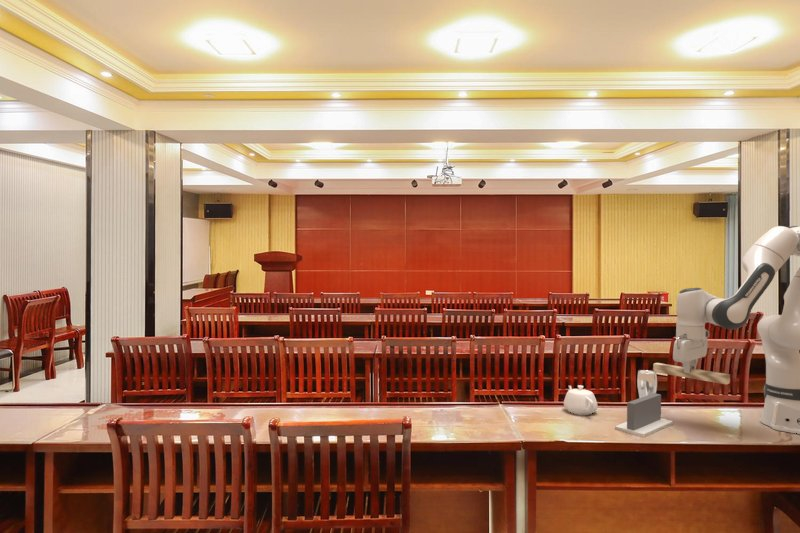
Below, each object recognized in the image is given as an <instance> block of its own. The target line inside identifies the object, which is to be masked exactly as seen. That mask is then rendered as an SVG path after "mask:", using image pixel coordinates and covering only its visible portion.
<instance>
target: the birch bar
mask: <svg viewBox="0 0 800 533" xmlns="http://www.w3.org/2000/svg"><path fill="white" fill-rule="evenodd" d="M652 369H653V370H652V371H653V372H656V374H664V375H669V376H670V375H671V376H675V377H682V378H688V379H693V380H699V381H705V382H711V383H716V384H722V385H729V384H730V383H731V374H728V373H724V372H717V371H711V370H705V369H704V370H703V369H697V368H696V369H693V368H691V372H690V373H685V372H684V367H683V366H681V365H680V366H679V365H673V364H665V363H661V362H655V363H653V367H652Z"/></svg>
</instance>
